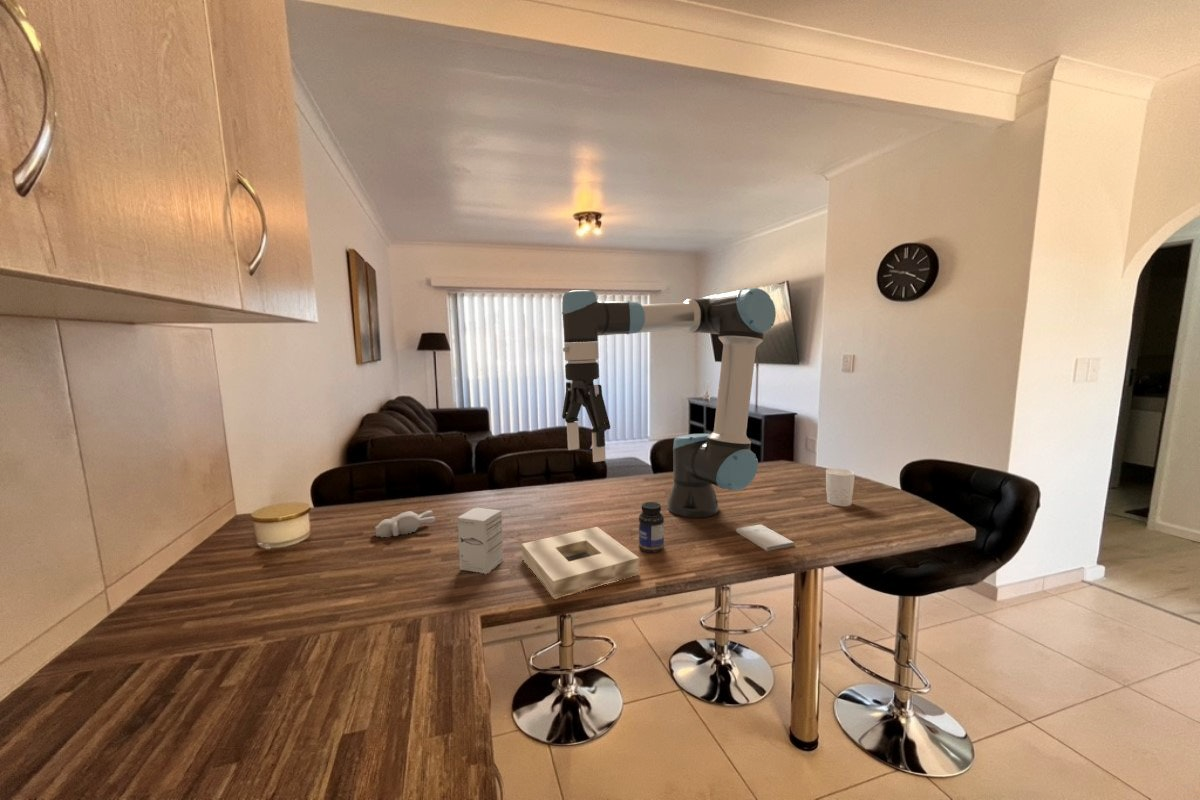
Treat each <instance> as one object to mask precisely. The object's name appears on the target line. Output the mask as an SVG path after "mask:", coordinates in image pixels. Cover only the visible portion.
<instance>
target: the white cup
mask: <svg viewBox="0 0 1200 800" xmlns="http://www.w3.org/2000/svg"><path fill="white" fill-rule="evenodd" d="M855 476H856V473H855V472H854V471H853V470H849V469H846V468H834V467H833V468H832V467H831V468H827V469H825V487H826V489H825V490H826V502H827V503H828V504H829V505H832V506H836V507H850V506H851V505H852V501H853V494H854V485H855Z"/></svg>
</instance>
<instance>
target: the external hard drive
mask: <svg viewBox="0 0 1200 800" xmlns="http://www.w3.org/2000/svg"><path fill="white" fill-rule="evenodd" d="M735 531H736V533H737V534H739V535H741V536H742V537H744V538H745V539H747V540H748V541H750V542H752V543H754V544H755V545H756V546H758V547H760V548H761V549H763V550H764V551H766V552H769V551H774V550H779V549H785V548H789V547H795V542H794V541H792V540H790V539H789V538H787V537H785V536H783V535H782V534H780V533H778V532H776V531H774V530H772V529H770V528H768V527H767V526H765V525H763V524H756V525H749V526H742V527H736V530H735Z"/></svg>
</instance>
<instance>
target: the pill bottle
mask: <svg viewBox="0 0 1200 800" xmlns="http://www.w3.org/2000/svg"><path fill="white" fill-rule="evenodd" d="M661 510H662V506H661V503H659V502H655V501H647V502H643V503H642V504H641V511H642V512H641V513H640V514H639V516H638V547H639V548H640V550H641V551H643V552H647V553H651V552H652V553H658V552H661V551H662V550H663V549H665V541H664V539H665V537H664V536H665V535H664V534H665V533H664V532H665V530H664V528H665V525H664V523H665V522H664V521H665V520H664V515H663V514H662V513H661Z"/></svg>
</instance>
